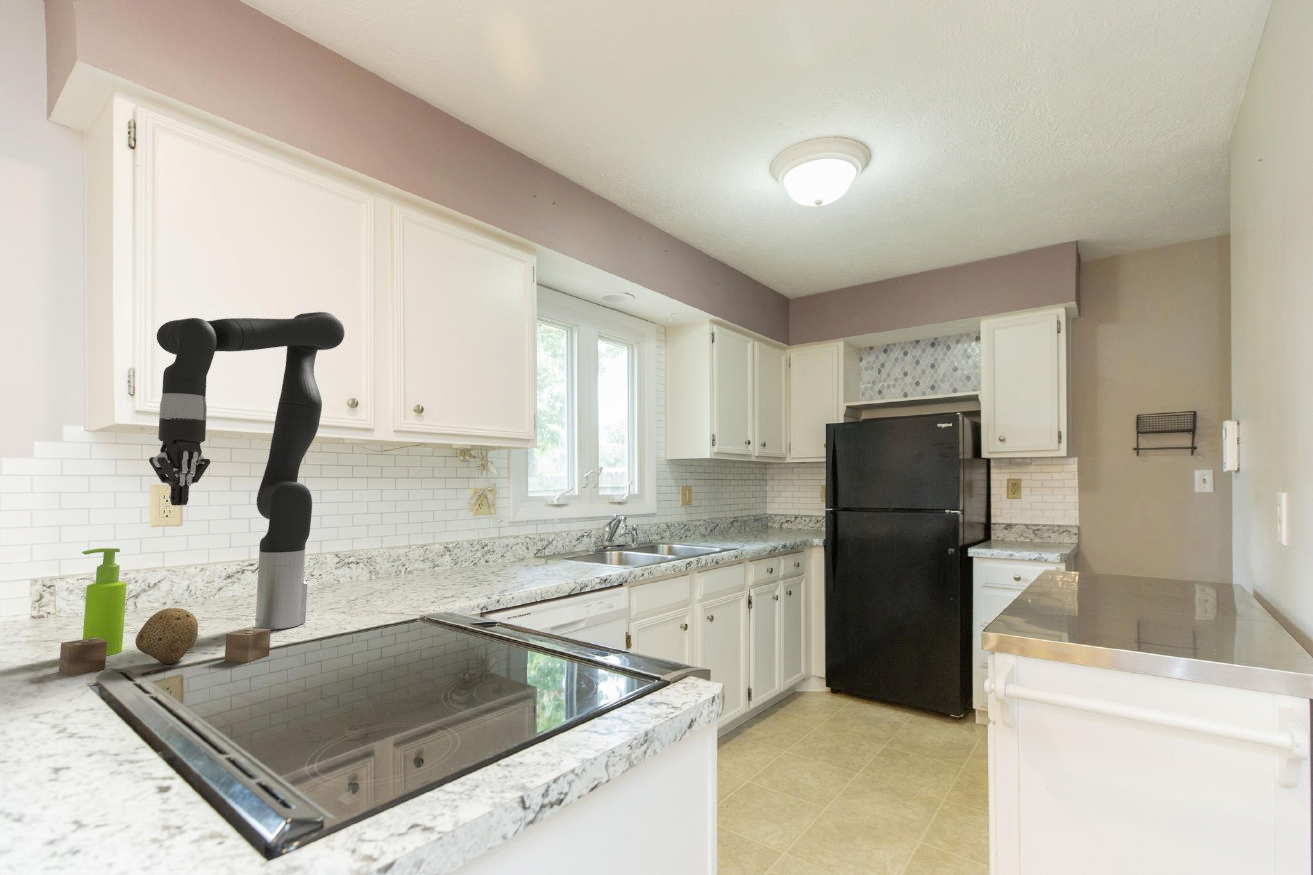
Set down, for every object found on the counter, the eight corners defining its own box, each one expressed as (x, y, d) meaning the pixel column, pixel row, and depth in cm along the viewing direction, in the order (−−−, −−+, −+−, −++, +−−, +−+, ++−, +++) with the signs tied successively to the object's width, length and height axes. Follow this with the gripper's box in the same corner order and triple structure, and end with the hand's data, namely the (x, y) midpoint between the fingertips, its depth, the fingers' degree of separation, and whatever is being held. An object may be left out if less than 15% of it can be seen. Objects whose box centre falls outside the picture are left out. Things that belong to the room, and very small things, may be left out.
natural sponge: (123, 672, 110) (127, 613, 110) (148, 659, 118) (152, 604, 119) (184, 668, 112) (188, 611, 113) (205, 655, 121) (208, 602, 121)
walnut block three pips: (96, 665, 114) (98, 636, 114) (104, 670, 111) (107, 640, 111) (58, 672, 110) (61, 641, 110) (66, 677, 107) (69, 646, 107)
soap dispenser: (70, 654, 121) (79, 548, 122) (117, 647, 126) (124, 546, 128) (77, 660, 117) (86, 550, 118) (125, 652, 122) (133, 548, 124)
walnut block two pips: (246, 654, 122) (248, 627, 123) (269, 655, 121) (270, 628, 122) (224, 661, 117) (226, 633, 118) (247, 663, 116) (249, 634, 117)
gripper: (191, 421, 133) (187, 504, 132) (136, 414, 120) (131, 506, 119) (225, 421, 133) (221, 504, 132) (174, 414, 120) (169, 506, 119)
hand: (179, 505), depth 125 cm, fingers closed
